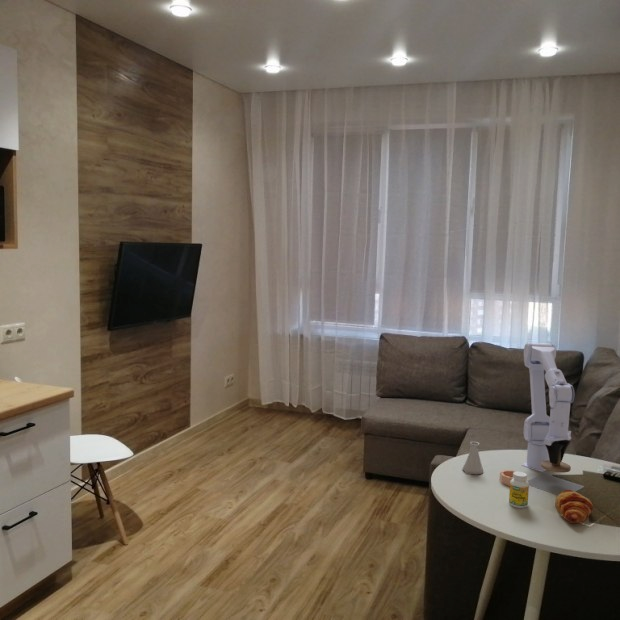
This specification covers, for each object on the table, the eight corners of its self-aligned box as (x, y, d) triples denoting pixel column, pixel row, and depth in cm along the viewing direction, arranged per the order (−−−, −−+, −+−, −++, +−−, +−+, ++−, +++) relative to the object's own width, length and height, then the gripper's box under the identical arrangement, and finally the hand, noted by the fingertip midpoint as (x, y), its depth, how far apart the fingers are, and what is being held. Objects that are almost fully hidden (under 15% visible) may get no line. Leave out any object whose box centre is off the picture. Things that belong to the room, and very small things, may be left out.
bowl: (507, 477, 205) (507, 468, 205) (527, 483, 200) (528, 475, 200) (495, 482, 200) (496, 473, 200) (516, 489, 195) (516, 480, 195)
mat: (543, 474, 209) (543, 473, 209) (584, 487, 198) (584, 486, 198) (523, 484, 199) (523, 483, 199) (565, 498, 189) (565, 497, 189)
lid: (548, 460, 205) (550, 445, 204) (575, 468, 198) (576, 452, 197) (535, 466, 199) (536, 450, 198) (562, 474, 192) (563, 458, 191)
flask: (481, 468, 213) (483, 440, 212) (485, 475, 206) (487, 447, 205) (460, 466, 214) (462, 439, 213) (463, 474, 206) (465, 445, 205)
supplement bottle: (527, 502, 185) (529, 472, 184) (527, 509, 180) (530, 478, 179) (508, 499, 187) (510, 469, 186) (508, 506, 182) (510, 475, 181)
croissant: (560, 508, 190) (549, 484, 191) (593, 498, 187) (581, 474, 187) (563, 536, 170) (550, 509, 171) (599, 526, 167) (586, 499, 168)
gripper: (560, 428, 189) (557, 470, 190) (581, 420, 198) (577, 460, 200) (539, 423, 194) (535, 464, 195) (560, 415, 204) (557, 454, 205)
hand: (555, 462), depth 198 cm, fingers closed on lid, 3 cm apart
